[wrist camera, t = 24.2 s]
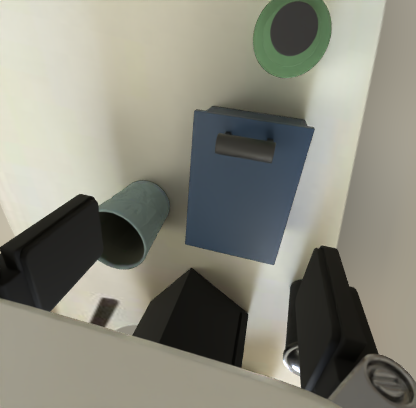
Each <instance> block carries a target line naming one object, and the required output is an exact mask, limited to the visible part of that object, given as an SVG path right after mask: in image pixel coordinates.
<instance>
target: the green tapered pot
mask: <svg viewBox="0 0 416 408" xmlns="http://www.w3.org/2000/svg"><path fill="white" fill-rule="evenodd" d="M98 207H99V215H100V224H101V232H102V240H103V253H102V255H101V256H100V257H99V259H98V260H99V261H100V262H102V263H104V264H105V265H107V266H110V267H113V268H116V269H131V268H134V267H137V266H138V265H140V264H141V263H142V262H143V261H144V259H145V257H146V255H147V253H148V251H149V249H150V247H151V245H152V243H153V241H154V240H155V238H156V236H157V233H159V231H160V229H161V227H162V225H163V222H164V221H165V219H166V217H167V215H168V213H169V209H170V204H169V200H168V197H167V195H166V193H165V192H164V191H163V190H162V189H161V188H160V187H159V186H158V185H156V184H154V183H152V182H149V181H136V182H133V183H132V184H130V185H129V186H127V187H126V188H125V189H123V190H122V191H120V192H119V193H117V194H116V195H114V196H113V197H112V198H111V199H109V200H107V201H106V202H104V203H102V204H101V205H99V206H98Z"/></svg>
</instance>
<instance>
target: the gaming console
mask: <svg viewBox="0 0 416 408" xmlns="http://www.w3.org/2000/svg"><path fill="white" fill-rule="evenodd" d="M247 321H248V313H246V312H245V311H244V310H243V309H242V308H240V307H239V306H238V305H237V304H235V303H234V302H233V301H232V300H230V299H229V298H228V297H227V296H226V295H224V294H223V293H222V292H221V291H219V290H218V289H217V288H216V287H214V286H213V285H212V284H211V283H210V282H208V281H207V280H206V279H205V278H203V277H202V276H201V275H200V274H199V273H197V272H196V271H195V270H194V269H192V268H190V269H189V270H188V271H187V272H186V273H184V274H183V275H182V276H181V277H180V278H178V279H177V280H176V281H175V282H174V283H172V284H171V285H170V286H169V287H168V288H166V289H165V290H164V291H163V292H162V293H160V294H159V295H158V296H157V297H156V298H154V299H153V300H152V301H151V302H150V304H149V306H148V308H147V309H146V311H145V313H144V315H143V317H142V319H141V320H140V322H139V324H138V326H137V328H136V330H135V332H134V333H133V335H132V336H135V337H138V338H142V339H145V340H149V341H152V342H155V343H159V344H162V345H166V346H169V347H172V348H176V349H179V350H182V351H186V352H189V353H192V354H196V355H199V356H202V357H206V358H209V359H212V360H216V361H219V362H222V363H226V364H229V365H232V366H236V367H239V368H241V367H242V359H243V352H244V344H245V336H246V328H247Z"/></svg>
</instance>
